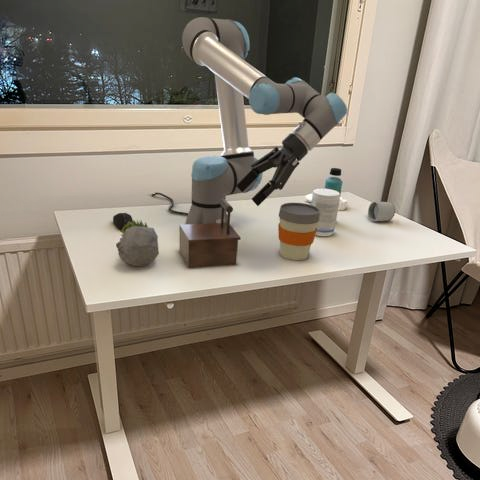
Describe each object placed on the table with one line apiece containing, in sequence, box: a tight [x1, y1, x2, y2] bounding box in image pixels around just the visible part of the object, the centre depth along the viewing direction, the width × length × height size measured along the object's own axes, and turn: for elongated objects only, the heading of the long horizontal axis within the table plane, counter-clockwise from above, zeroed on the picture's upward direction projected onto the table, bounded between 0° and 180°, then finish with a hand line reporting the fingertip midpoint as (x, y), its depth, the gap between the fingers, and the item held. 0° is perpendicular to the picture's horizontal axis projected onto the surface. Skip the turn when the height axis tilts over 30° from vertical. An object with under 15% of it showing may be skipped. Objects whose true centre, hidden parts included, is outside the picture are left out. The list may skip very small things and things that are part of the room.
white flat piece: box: [304, 192, 348, 211], centre depth 202 cm, size 3×18×15 cm
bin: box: [178, 227, 239, 269], centre depth 143 cm, size 15×13×8 cm
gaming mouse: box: [112, 212, 133, 231], centre depth 162 cm, size 6×15×4 cm, turn 22°
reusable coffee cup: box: [277, 202, 320, 261], centre depth 148 cm, size 13×12×15 cm
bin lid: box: [179, 199, 242, 243], centre depth 139 cm, size 15×13×9 cm
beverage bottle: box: [324, 167, 343, 201], centre depth 178 cm, size 6×7×20 cm
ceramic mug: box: [367, 200, 396, 222], centre depth 188 cm, size 11×8×8 cm
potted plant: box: [115, 218, 160, 267], centre depth 137 cm, size 12×13×15 cm
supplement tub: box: [310, 188, 341, 237], centre depth 168 cm, size 10×10×15 cm
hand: (246, 195), depth 139 cm, fingers open, 13 cm apart
